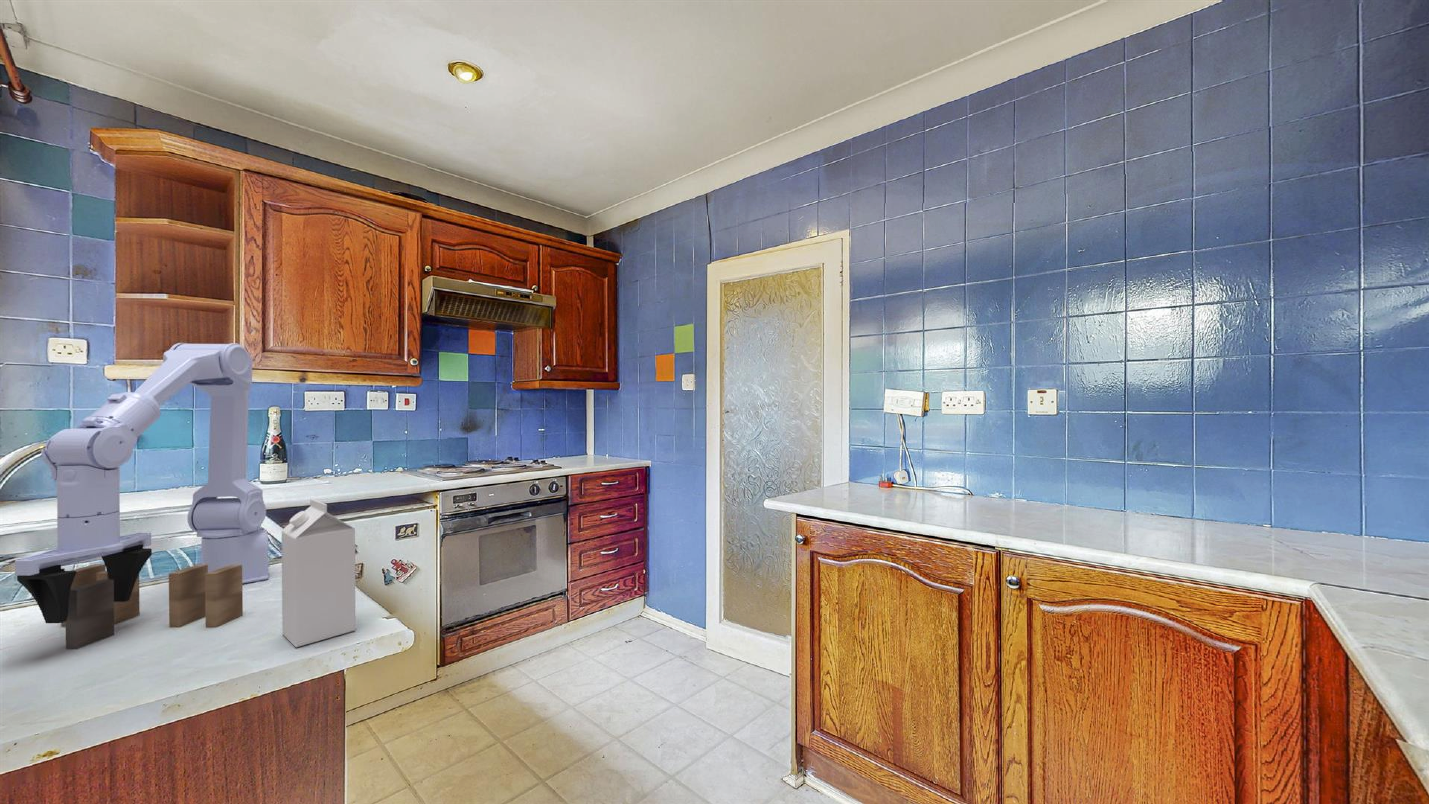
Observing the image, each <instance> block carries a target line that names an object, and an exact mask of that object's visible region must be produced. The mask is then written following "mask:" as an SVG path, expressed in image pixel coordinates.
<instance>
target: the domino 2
mask: <svg viewBox="0 0 1429 804" xmlns="http://www.w3.org/2000/svg"><path fill="white" fill-rule="evenodd" d="M102 579H109V578H108V573H107V570H105V571H103V572H100V573H97V581H99V580H102ZM140 605H141V604H140V574H139V575H138V577H137V579H136V582H135V585H134V587H133V590H132V593H131V596H130V599H129V601H126V602H114V625H116V624H120V623H122V622H124V621H127V620H130V619H132V618H135V617H138V616H140V613H141V612H140V611H141V610H140Z"/></svg>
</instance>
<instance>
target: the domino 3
mask: <svg viewBox="0 0 1429 804" xmlns="http://www.w3.org/2000/svg"><path fill="white" fill-rule="evenodd" d="M206 573H208V565H202V563H201V564H196V565H195V564H194V565H192V566H189V567H185V568H182V569H179V570H176V571H173V572H169V573H168V615H169V617H168V618H169V619H168V622H169V623H168V626H169V628H181V627H184V626H187V625H189V624H191V623H194V622H196V621H198V620H201V619H203V618H205V574H206Z"/></svg>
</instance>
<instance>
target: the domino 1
mask: <svg viewBox="0 0 1429 804" xmlns="http://www.w3.org/2000/svg"><path fill="white" fill-rule="evenodd" d="M70 571H76V572H77V573H76V575H75V577H74V580H73V583H72V586H71V588H75V587H78V586H82V585H85V584H89V583H92V582H95V581H97V573H100V572H103V571H106V566H105V564H104V563H94V564H91V565H87V566H82V567H79V568H75V569H71V570H70ZM60 627H61V628H64V627H65V628H66V621H65V622H62V623H60Z"/></svg>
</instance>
